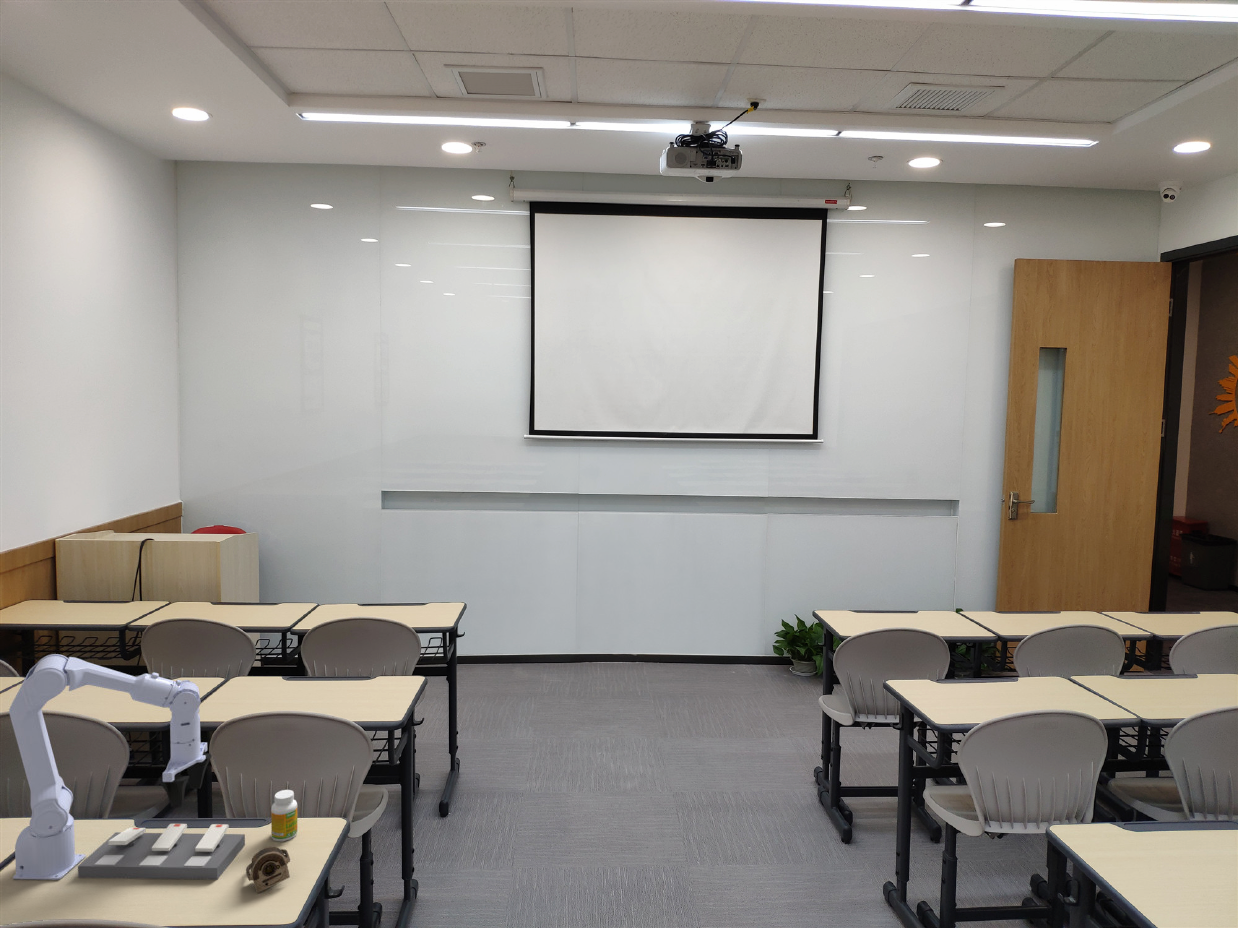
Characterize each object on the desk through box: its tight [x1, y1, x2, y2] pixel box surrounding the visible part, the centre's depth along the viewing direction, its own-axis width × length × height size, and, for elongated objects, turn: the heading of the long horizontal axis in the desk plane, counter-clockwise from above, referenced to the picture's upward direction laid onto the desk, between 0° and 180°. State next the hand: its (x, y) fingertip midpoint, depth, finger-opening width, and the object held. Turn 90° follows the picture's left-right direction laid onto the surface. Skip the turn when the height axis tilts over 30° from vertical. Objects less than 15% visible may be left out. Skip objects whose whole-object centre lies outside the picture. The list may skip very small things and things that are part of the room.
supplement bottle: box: [270, 789, 298, 842], centre depth 170 cm, size 5×5×10 cm
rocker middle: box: [152, 823, 188, 851], centre depth 162 cm, size 4×7×1 cm, turn 1°
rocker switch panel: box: [77, 831, 246, 881], centre depth 160 cm, size 28×12×3 cm, turn 92°
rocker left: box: [108, 827, 147, 845], centre depth 161 cm, size 4×7×1 cm, turn 1°
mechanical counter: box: [245, 846, 291, 894], centre depth 156 cm, size 7×13×10 cm
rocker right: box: [195, 823, 230, 852], centre depth 162 cm, size 4×7×1 cm, turn 2°
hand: (186, 796), depth 168 cm, fingers open, 7 cm apart
